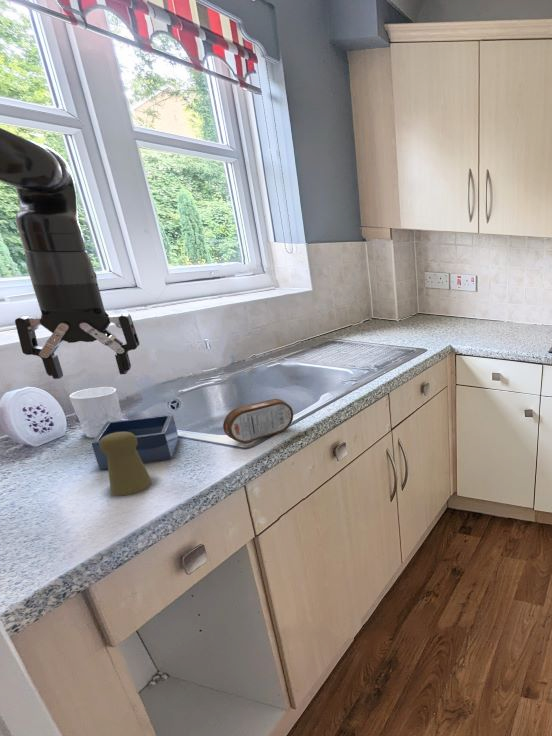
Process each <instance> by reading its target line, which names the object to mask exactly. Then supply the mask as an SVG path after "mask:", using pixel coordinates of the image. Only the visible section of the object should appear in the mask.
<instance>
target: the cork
mask: <svg viewBox="0 0 552 736" xmlns="http://www.w3.org/2000/svg"><path fill="white" fill-rule="evenodd" d="M136 446H137V438H136V436H135V435H134V434H133V433H131V432H115V433H111V434H108V435H106V436H104V437H103V438H102V439H101V440H100V442H99V447H100V449H101V451H102V452H103V453H105V454H107V463H108V469H107V471H108V478H109V480H108V481H109V488H110V494H112V495H113V496H128V495H133V494H136V493H140V492H142V491H144V490H146V489H148V488H149V487H150V486H151V485H152V484H153V480H152V479H151V477H150V475H149V473H148V471H147V468H146V466H145V463H143V462H142V460H141V458H140V456H139V454H138V452H137V450H136Z"/></svg>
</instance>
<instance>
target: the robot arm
mask: <svg viewBox="0 0 552 736" xmlns="http://www.w3.org/2000/svg"><path fill="white" fill-rule="evenodd" d="M0 182H2V183H4V184H6V185H9V186H12V187H14V188H15V190H16V194H17V198H18V202H19V210H18V211H17V212H16V213H15V225H16V229H17V231H18V234H19V235H18V236H19V238H20V241H21V244H22V248H23V250H24V256H25V264H26V268H27V271H28V275H29V278H30V282H31V284H32V288H33V291H34V295H35V298H36V299H37V300H36V301H37V304H38V307H39V310H40V313H41V316H40V317H37V316H36V317H32V316H29V315H22V316H20V317H17V318H15V320H14V323H15V328H16V331H17V336H18V339H19V344H20V347H21V351H22V354H24V355H26V356H30V355H31V356H37V357H39V358H40V359H41V360H42V364H43V367H44V369H45V373H46V375H48V376H49V377H52V378H53V380H60V379H62V378H63V377H64V373H63V370H62V366H61V362H60V359H59V356H58V354H55V353H56V351H57V350H58V349H59V347H60V346H61V345H62V344H63V343H64V342H66V343H68V344H74V343H75V344H76V343H78V342H82V343H83V342H85V343H93V342H95V341H98V342H100V343H101V344H103V345H104V346H106V347H108V348H109V349H111V350H113V352H115V354H114V357H115V361H116V364H117V369H118V373H119V375H126V374H127V373H128V371H130V370H131V367H132V364H131V360H130V356H129V352H130V351H132V350H133V351H134V350H137V348H138V347H139V346H140V341H139V337H138V334H137V331H136V328H135V324H134V321H133V319H132V315H131V314H129V313H122V314H120V315H118V314H117V315H109V314H108V313H107V312H106V310H105V306H104V302H103V299H102V295H101V291H100V287H99V284H98V277H97V273H96V271H95V268H94V265H93V262H92V261H91V258H90V256H89V253H88V251H87V247H86V243H85V239H84V236H83V231H82V228H81V226H80V223H79V218H78V200H77V192H76V191H77V190H76V186H75V185H76V184H75V180H74V176H73V174H72V170H71V168H70V167H69V164H68V162H67V161H66V160H65V158H63V156H61V154H59V153H58V152H57V151H55V149H52V148H50V147H48V146H46V145H44V144H41V143H37V142H35V141H32V140H29V139H27V138H25V137H23V136H20V135H18V134H15V133H13V132H10V131H8V130H6V129H4V128H2V127H0ZM111 323H113V324H114V325H115V326H116V327H117V328H118V329H121V330H122V333H123V337H124V339H125V343H124V342H122V340H120V339H118V337H117V336H116V335H115V334H114V333H112V332H111V331H110V330H108V327H109V326H110V324H111ZM40 325H41V326H42V327H43V328H45V329H46V330H47V331H48V332H50V333H51V335H50V337H49V338H48V340H46V342H45V344H44V346H41V345H39V343H38V340H37V339H38V338H37V335H36V330H38V329H39V327H40Z"/></svg>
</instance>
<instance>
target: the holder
mask: <svg viewBox="0 0 552 736" xmlns="http://www.w3.org/2000/svg"><path fill="white" fill-rule="evenodd" d="M115 432H131V433H133V434H134V435H135V436H136V438H137V446H136V450H137V452H138V454H139V456H140V458H141V460H142V462H143V464H147V463H153V462H159V461H166V460H172V458H173V455H174V452H175V449H176V447H177V443H178V440H179V434H178V429H177V425H176V421H175V418H174V414H172V413H171V414H170V413H169V414H162V415H154V416H146V417H139V418H138V417H137V418H129V419H122V420H120V421H112V422H106V424H105V425H104V426H103V428H102V429H101V431H100V432H99V433H98V435H97V436H96V438H93V440H92V442H91V443H90V444H91V447H92V451H93V455H94V457H95V460H96V463H97V466H98V470H99V471H103V470H108V463H107V454H105V453H103V452H102V451H101V449H100V447H99V442H100V440H101V439H102V438H103V437H104V436H106V435H108V434H111V433H115Z"/></svg>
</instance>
